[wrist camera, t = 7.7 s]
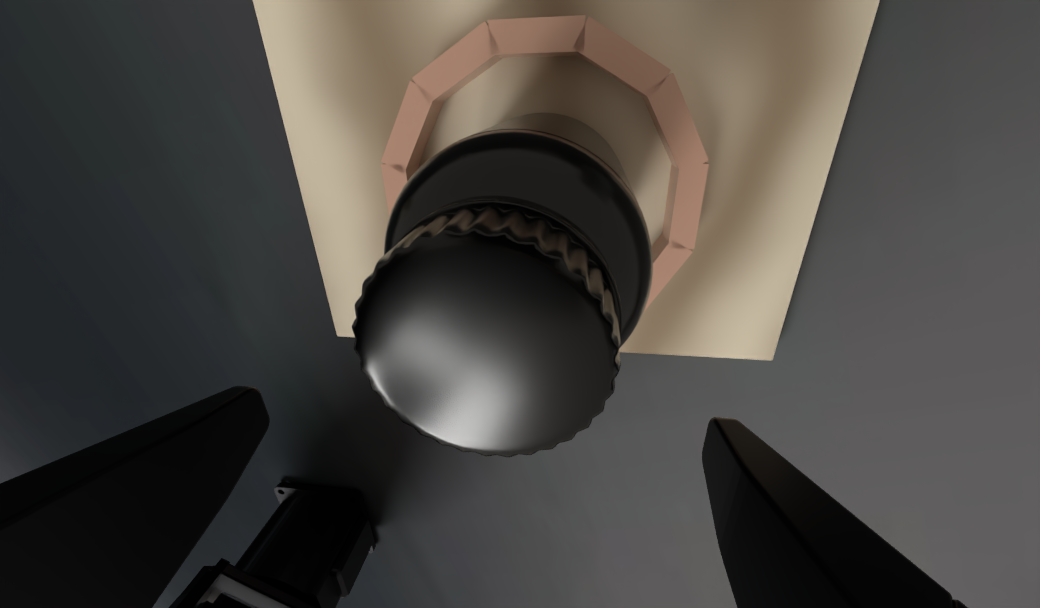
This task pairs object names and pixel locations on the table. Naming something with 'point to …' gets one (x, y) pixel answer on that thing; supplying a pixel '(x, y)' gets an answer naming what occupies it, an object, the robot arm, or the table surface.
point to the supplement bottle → (506, 288)
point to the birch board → (605, 108)
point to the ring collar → (603, 53)
